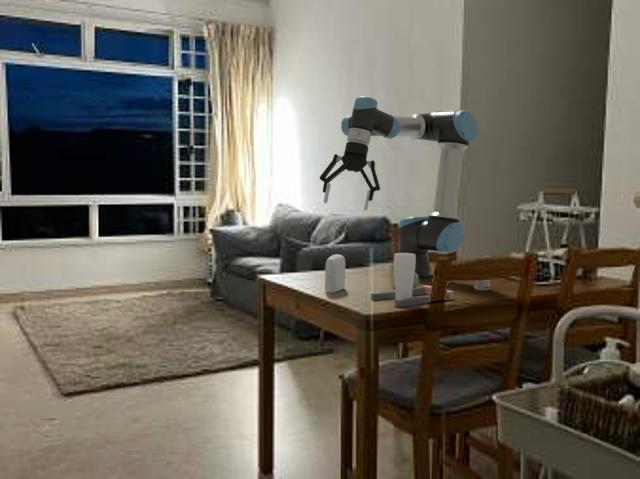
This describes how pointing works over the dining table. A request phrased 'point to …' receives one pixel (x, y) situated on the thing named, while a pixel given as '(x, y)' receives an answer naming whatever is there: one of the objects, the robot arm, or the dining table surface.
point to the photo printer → (335, 273)
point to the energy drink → (482, 284)
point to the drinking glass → (404, 274)
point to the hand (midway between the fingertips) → (345, 206)
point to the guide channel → (410, 301)
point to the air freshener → (415, 283)
